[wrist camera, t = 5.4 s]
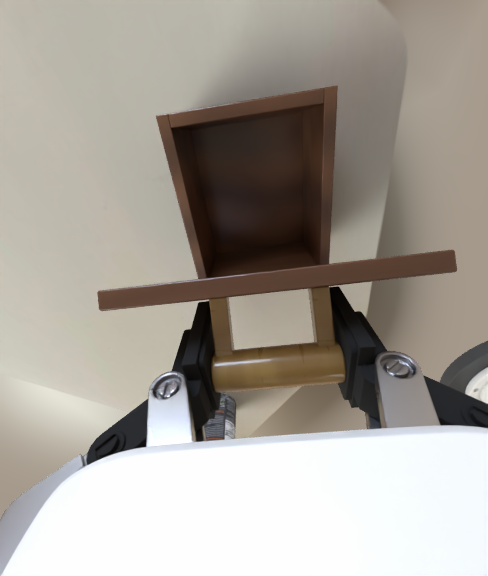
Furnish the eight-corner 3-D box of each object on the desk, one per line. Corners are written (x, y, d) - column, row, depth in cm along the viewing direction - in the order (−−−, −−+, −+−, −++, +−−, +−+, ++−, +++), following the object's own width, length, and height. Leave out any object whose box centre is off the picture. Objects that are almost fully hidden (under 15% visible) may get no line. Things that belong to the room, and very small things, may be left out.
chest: (181, 121, 23) (155, 115, 16) (309, 100, 22) (337, 85, 15) (211, 256, 30) (201, 291, 23) (309, 244, 29) (328, 277, 22)
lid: (96, 290, 8) (109, 423, 8) (455, 249, 8) (473, 395, 8) (200, 290, 23) (205, 339, 23) (329, 275, 22) (335, 326, 22)
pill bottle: (199, 409, 46) (187, 483, 36) (207, 389, 43) (196, 464, 33) (230, 415, 47) (227, 488, 37) (240, 396, 44) (239, 470, 34)
